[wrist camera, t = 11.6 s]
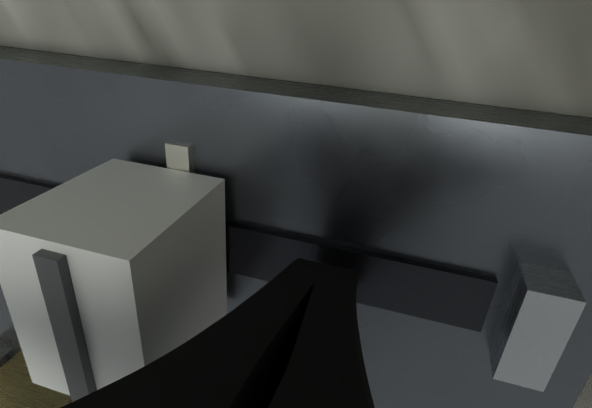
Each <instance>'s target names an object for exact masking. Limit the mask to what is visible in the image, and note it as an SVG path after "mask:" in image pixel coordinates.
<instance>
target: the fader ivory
mask: <svg viewBox="0 0 592 408" xmlns="http://www.w3.org/2000/svg"><path fill="white" fill-rule="evenodd" d="M0 285H1V288H2V291H3V294H4V297H5V300H6V303H7V306H8V309H9V312H10V315H11V318H12V321H13V324H14V328H15V331H16V334H17V337H18V340H19V343H20V346H21V349H22V352H23V355H24V358H25V361H26V364H27V367H28V370H29V374H30V377H31V380H32V383H35V384H38V385H41V386H43V387H46V388H49V389H52V390H55V391H58V392H61V393H64V394H67V395H70V396H71V400H72V401H76V400H78V399H80V398H82V397H84V396H86V395H88V394H90V393H92V392H94V391H96V390H98V389H101V388H103V387H105V386H107V385H109V384H111V383H113V382H115V381H117V380H119V379H121V378H123V377H125V376H127V375H129V374H131V373H133V372H135V371H137V370H138V369H140V368H142V367H144V366H146V365H148V364H149V363H151V362H153V361H155V360H156V359H158V358H160V357H162V356H163V355H165V354H167V353H168V352H170V351H172V350H173V349H175V348H177V347H178V346H180V345H182V344H183V343H185V342H186V341H188V340H190V339H191V338H193V337H194V336H196V335H197V334H199V333H200V332H202V331H203V330H205V329H206V328H207V327H209V326H210V325H212V324H213V323H215V322H216V321H218V320H219V319H221V318H222V317H224V316H225V315H226V313H227V281H226V227H225V179H222V178H216V177H211V176H206V175H200V174H195V173H189V172H184V171H179V170H173V169H168V168H162V167H157V166H151V165H146V164H141V163H135V162H130V161H124V160H119V159H114V158H113V159H111V160H109V161H107V162H105V163H103V164H101V165H99V166H97V167H95V168H93V169H91V170H89V171H87V172H85V173H83V174H81V175H79V176H77V177H75V178H73V179H71V180H69V181H67V182H65V183H63V184H61V185H59V186H57V187H55V188H53V189H51V190H49V191H47V192H45V193H43V194H41V195H39V196H37V197H35V198H33V199H31V200H29V201H27V202H25V203H23V204H20V205H18V206H16V207H14V208H12V209H10V210H8V211H6V212H4V213H2V214H0Z"/></svg>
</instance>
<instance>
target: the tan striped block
mask: <svg viewBox="0 0 592 408" xmlns="http://www.w3.org/2000/svg"><path fill="white" fill-rule="evenodd" d="M71 402H74V401H72V400H71V396H70V395H67V394H64V393H61V392H58V391H55V390H52V389H49V388H46V387H43V386H41V385H38V384H35V383H32V380H31V377H30V374H29V370H28V367H27V364H26V361H25V358H24V355H23V352H22V350H21V351H20V352H19V353H17V354H16V355H15V356H14V357H13V358H12V359H10V360H9V361H8V362H7V363H6V364H4V365H3V366H2V367H1V368H0V408H60V407H63V406H65V405H67V404H69V403H71Z"/></svg>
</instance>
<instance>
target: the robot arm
mask: <svg viewBox="0 0 592 408" xmlns="http://www.w3.org/2000/svg"><path fill="white" fill-rule="evenodd" d="M358 280H359V276H358V274H357V273H356V272H355V270H351V269H346V268H342V267H337V266H333V265H328V264H323V263H319V262H314V261H310V260H305V259H300V258H298V259H296V260H295V261H293V262H292V263H291V264H289V265H288V266H287V267H286V268H285V269H284V270H282V271H281V272H280V273H279V274H278V275H276V276H275V277H274V278H273V279H272V280H270V281H269V282H268V283H267V284H266V285H264V286H263V287H262V288H261V289H259V290H258V291H257V292H256V293H254V294H253V295H252V296H250V297H249V298H248V299H246V300H245V301H244V302H242V303H241V304H240V305H239V306H237V307H236V308H235V309H233V310H232V311H231V312H229V313H228V314H226V315H225V316H224V317H222V318H221V319H219V320H218V321H216V322H215V323H213V324H212V325H210V326H209V327H207V328H206V329H205V330H203V331H202V332H200V333H199V334H197V335H196V336H194V337H193V338H191V339H190V340H188V341H186V342H185V343H183V344H182V345H180V346H178V347H177V348H175V349H173V350H172V351H170V352H168V353H167V354H165V355H163V356H162V357H160V358H158V359H156V360H155V361H153V362H151V363H149V364H148V365H146V366H144V367H142V368H140V369H138V370H137V371H135V372H133V373H131V374H129V375H127V376H125V377H123V378H121V379H119V380H117V381H115V382H113V383H111V384H109V385H107V386H105V387H103V388H101V389H98V390H96V391H94V392H92V393H90V394H88V395H86V396H84V397H82V398H80V399H78V400H76V401H74V402H71V403H69V404H67V405H65V406H63V407H60V408H375V407H374V403H373V399H372V395H371V391H370V387H369V382H368V378H367V374H366V369H365V364H364V359H363V354H362V348H361V341H360V335H359V328H358V320H357V306H356V293H357V286H358Z"/></svg>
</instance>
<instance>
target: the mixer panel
mask: <svg viewBox="0 0 592 408" xmlns="http://www.w3.org/2000/svg"><path fill="white" fill-rule="evenodd" d="M113 158H114V159H119V160H124V161H130V162H135V163H141V164H146V165H151V166H157V167H162V168H168V169H173V170H179V171H184V172H189V173H195V174H200V175H206V176H211V177H216V178H222V179H225V227H226V281H227V313H226V314H228V313H229V312H231V311H232V310H233V309H235V308H236V307H237V306H239V305H240V304H241V303H242V302H244V301H245V300H246V299H248V298H249V297H250V296H252V295H253V294H254V293H256V292H257V291H258V290H259V289H261V288H262V287H263V286H264V285H266V284H267V283H268V282H269V281H270V280H272V279H273V278H274V277H275V276H276V275H278V274H279V273H280V272H281V271H282V270H284V269H285V268H286V267H287V266H288V265H289V264H291V263H292V262H293V261H295V260H296V259H298V258H300V259H305V260H310V261H314V262H319V263H323V264H328V265H333V266H337V267H342V268H346V269H351V270H355V272H356V273H357V274H358V276H359V280H358V286H357V293H356V306H357V320H358V328H359V335H360V341H361V348H362V354H363V359H364V364H365V369H366V374H367V378H368V382H369V387H370V391H371V395H372V399H373V403H374V407H375V408H572V407H573V406H574V404H575V402H576V400H577V398H578V396H579V395H580V393H581V391H582V389H583V387H584V385H585V384H586V382H587V380H588V378H589V376H590V374H591V372H592V118H585V117H577V116H569V115H561V114H553V113H544V112H536V111H528V110H520V109H511V108H503V107H495V106H487V105H479V104H470V103H462V102H454V101H446V100H438V99H429V98H421V97H413V96H405V95H397V94H388V93H380V92H372V91H364V90H356V89H347V88H339V87H331V86H323V85H315V84H306V83H298V82H290V81H282V80H273V79H265V78H257V77H249V76H241V75H232V74H224V73H216V72H208V71H200V70H191V69H183V68H175V67H167V66H159V65H150V64H142V63H134V62H126V61H118V60H109V59H101V58H93V57H85V56H76V55H68V54H60V53H52V52H44V51H35V50H27V49H19V48H11V47H3V46H0V214H2V213H4V212H6V211H8V210H10V209H12V208H14V207H16V206H18V205H20V204H23V203H25V202H27V201H29V200H31V199H33V198H35V197H37V196H39V195H41V194H43V193H45V192H47V191H49V190H51V189H53V188H55V187H57V186H59V185H61V184H63V183H65V182H67V181H69V180H71V179H73V178H75V177H77V176H79V175H81V174H83V173H85V172H87V171H89V170H91V169H93V168H95V167H97V166H99V165H101V164H103V163H105V162H107V161H109V160H111V159H113ZM21 350H22V349H21V346H20V343H19V340H18V337H17V334H16V331H15V328H14V324H13V321H12V318H11V315H10V312H9V309H8V306H7V303H6V300H5V297H4V294H3V291H2V288H1V285H0V368H1V367H2V366H3V365H4V364H6V363H7V362H8V361H9V360H10V359H12V358H13V357H14V356H15V355H16V354H17V353H19V352H20V351H21Z"/></svg>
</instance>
